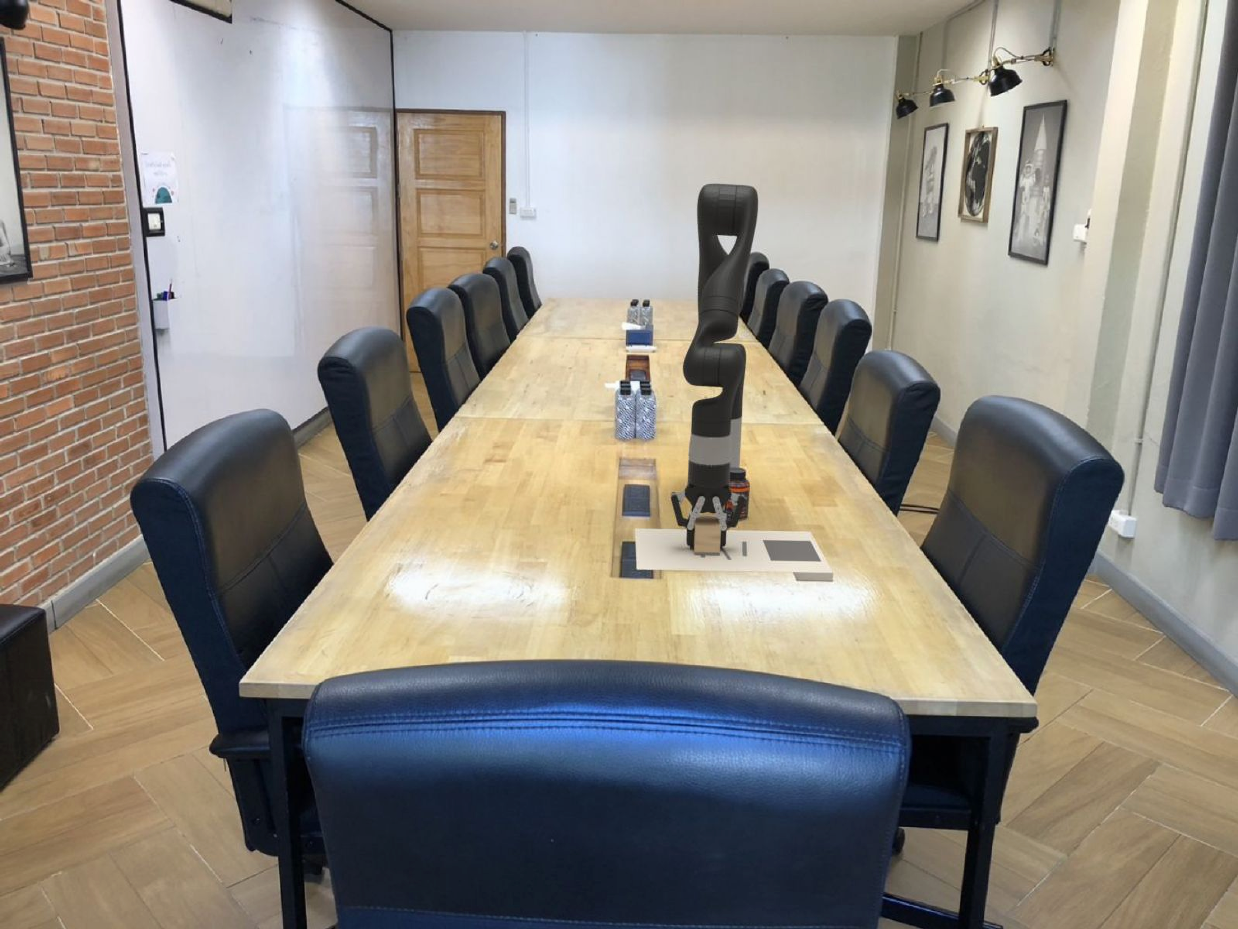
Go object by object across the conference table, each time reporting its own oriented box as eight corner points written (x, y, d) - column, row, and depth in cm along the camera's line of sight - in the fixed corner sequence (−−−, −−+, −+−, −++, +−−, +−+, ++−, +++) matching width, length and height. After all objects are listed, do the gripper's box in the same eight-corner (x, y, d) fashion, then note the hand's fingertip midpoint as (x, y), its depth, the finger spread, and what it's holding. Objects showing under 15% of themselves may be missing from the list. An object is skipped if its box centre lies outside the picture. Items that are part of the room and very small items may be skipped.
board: (634, 535, 198) (635, 528, 197) (809, 539, 198) (810, 531, 197) (636, 577, 176) (636, 569, 176) (832, 581, 177) (833, 572, 176)
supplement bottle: (724, 528, 203) (727, 474, 200) (713, 519, 208) (716, 466, 205) (752, 526, 204) (755, 472, 201) (741, 517, 210) (743, 464, 207)
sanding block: (692, 542, 190) (693, 514, 189) (716, 542, 190) (717, 514, 189) (694, 555, 183) (695, 526, 182) (719, 555, 183) (720, 526, 182)
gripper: (747, 453, 186) (742, 542, 190) (668, 451, 186) (665, 540, 190) (752, 464, 179) (746, 555, 183) (670, 462, 179) (667, 554, 183)
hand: (705, 547), depth 187 cm, fingers closed on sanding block, 4 cm apart
